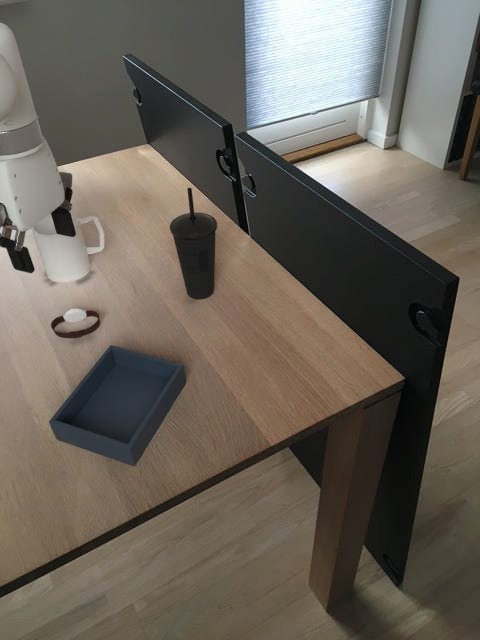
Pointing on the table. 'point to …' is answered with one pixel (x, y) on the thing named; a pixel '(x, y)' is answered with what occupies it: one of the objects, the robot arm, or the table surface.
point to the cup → (65, 249)
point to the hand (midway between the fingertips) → (46, 251)
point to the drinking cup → (196, 250)
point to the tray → (119, 404)
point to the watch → (75, 316)
